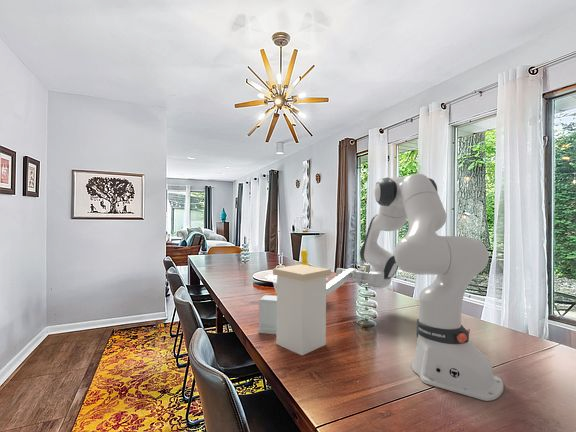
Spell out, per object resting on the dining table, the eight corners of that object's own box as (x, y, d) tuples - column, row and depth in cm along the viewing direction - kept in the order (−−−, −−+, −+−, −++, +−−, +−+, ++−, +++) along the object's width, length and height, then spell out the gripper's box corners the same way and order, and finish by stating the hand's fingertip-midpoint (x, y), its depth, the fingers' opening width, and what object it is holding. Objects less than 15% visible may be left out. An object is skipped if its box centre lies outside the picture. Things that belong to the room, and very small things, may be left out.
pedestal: (329, 344, 108) (330, 269, 108) (302, 357, 99) (303, 274, 98) (300, 333, 118) (300, 264, 118) (272, 344, 108) (273, 268, 108)
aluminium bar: (356, 274, 130) (354, 262, 129) (323, 299, 116) (320, 285, 115) (349, 273, 133) (347, 261, 132) (316, 297, 119) (313, 283, 117)
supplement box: (277, 334, 117) (277, 300, 117) (258, 333, 118) (258, 299, 118) (281, 327, 124) (282, 295, 124) (263, 326, 126) (264, 294, 125)
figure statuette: (319, 286, 194) (319, 251, 194) (308, 288, 191) (308, 251, 190) (305, 281, 210) (305, 248, 210) (294, 282, 207) (295, 248, 206)
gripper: (347, 266, 146) (328, 263, 137) (387, 272, 131) (369, 269, 122) (345, 280, 145) (326, 277, 136) (385, 288, 130) (367, 285, 121)
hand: (347, 273), depth 129 cm, fingers closed on aluminium bar, 3 cm apart
